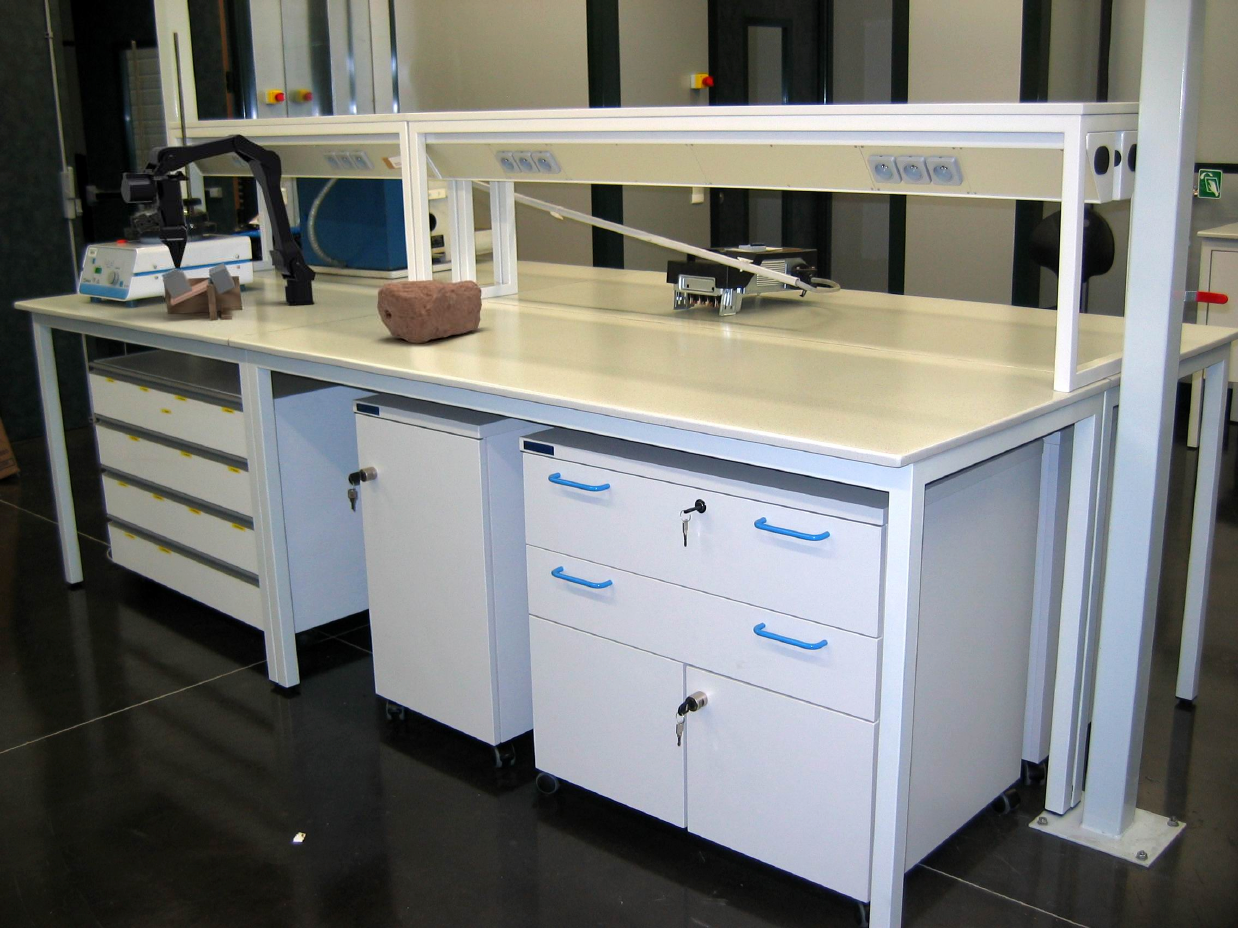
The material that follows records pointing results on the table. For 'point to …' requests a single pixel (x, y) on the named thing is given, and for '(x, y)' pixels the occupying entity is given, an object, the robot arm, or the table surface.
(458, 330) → the stone
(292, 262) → the robot arm
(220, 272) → the trapdoor
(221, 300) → the frame
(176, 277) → the slate block
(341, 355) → the table surface
